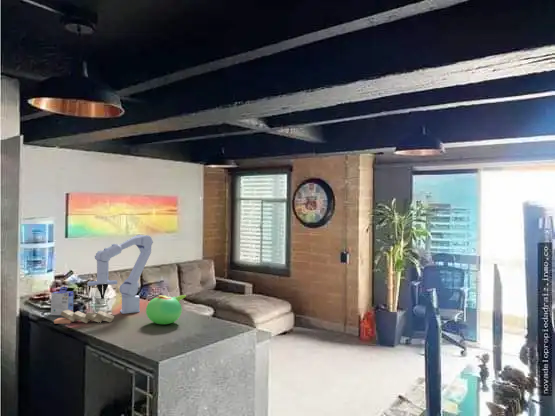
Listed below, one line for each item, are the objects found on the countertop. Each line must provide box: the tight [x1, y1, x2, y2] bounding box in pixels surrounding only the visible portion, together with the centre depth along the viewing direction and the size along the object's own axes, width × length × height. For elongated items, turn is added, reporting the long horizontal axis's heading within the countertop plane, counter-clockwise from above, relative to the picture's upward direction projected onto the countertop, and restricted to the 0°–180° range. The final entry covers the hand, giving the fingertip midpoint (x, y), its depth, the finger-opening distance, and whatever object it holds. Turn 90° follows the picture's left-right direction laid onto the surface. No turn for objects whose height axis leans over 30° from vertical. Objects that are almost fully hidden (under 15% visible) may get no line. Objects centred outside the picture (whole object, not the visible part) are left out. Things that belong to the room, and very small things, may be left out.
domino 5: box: [95, 310, 115, 323], centre depth 213 cm, size 2×5×8 cm
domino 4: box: [85, 311, 104, 324], centre depth 213 cm, size 2×5×8 cm
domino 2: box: [60, 310, 79, 323], centre depth 213 cm, size 2×5×8 cm
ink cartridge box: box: [50, 286, 74, 316], centre depth 227 cm, size 10×6×14 cm, turn 89°
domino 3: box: [72, 310, 91, 324], centre depth 212 cm, size 2×5×8 cm
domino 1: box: [53, 317, 74, 324], centre depth 212 cm, size 2×5×8 cm
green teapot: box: [145, 294, 187, 325], centre depth 210 cm, size 18×17×15 cm
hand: (102, 298), depth 222 cm, fingers closed
